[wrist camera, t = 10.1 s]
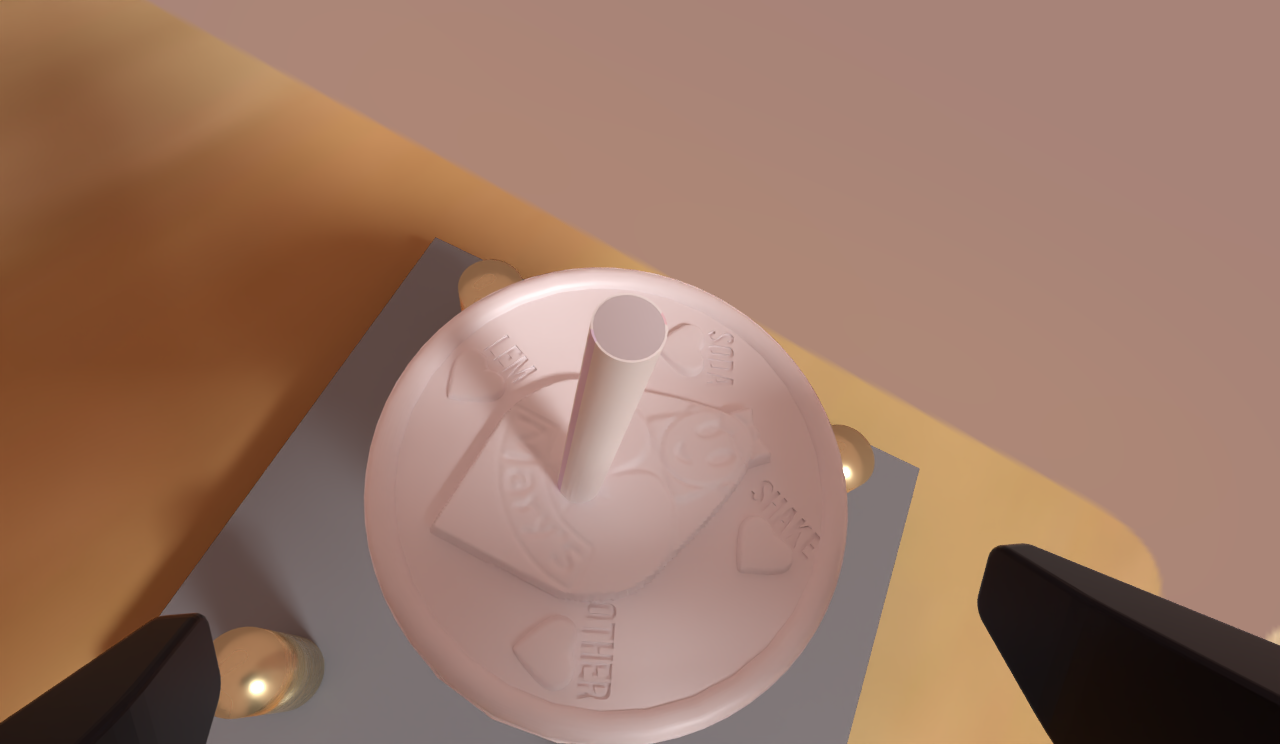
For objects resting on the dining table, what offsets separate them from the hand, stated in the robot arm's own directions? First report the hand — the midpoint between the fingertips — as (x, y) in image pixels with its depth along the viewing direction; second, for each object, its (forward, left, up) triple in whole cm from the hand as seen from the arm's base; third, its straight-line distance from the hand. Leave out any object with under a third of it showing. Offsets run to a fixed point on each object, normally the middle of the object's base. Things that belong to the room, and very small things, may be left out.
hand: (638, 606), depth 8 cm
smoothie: (+2, 0, -10) cm, 10 cm away
